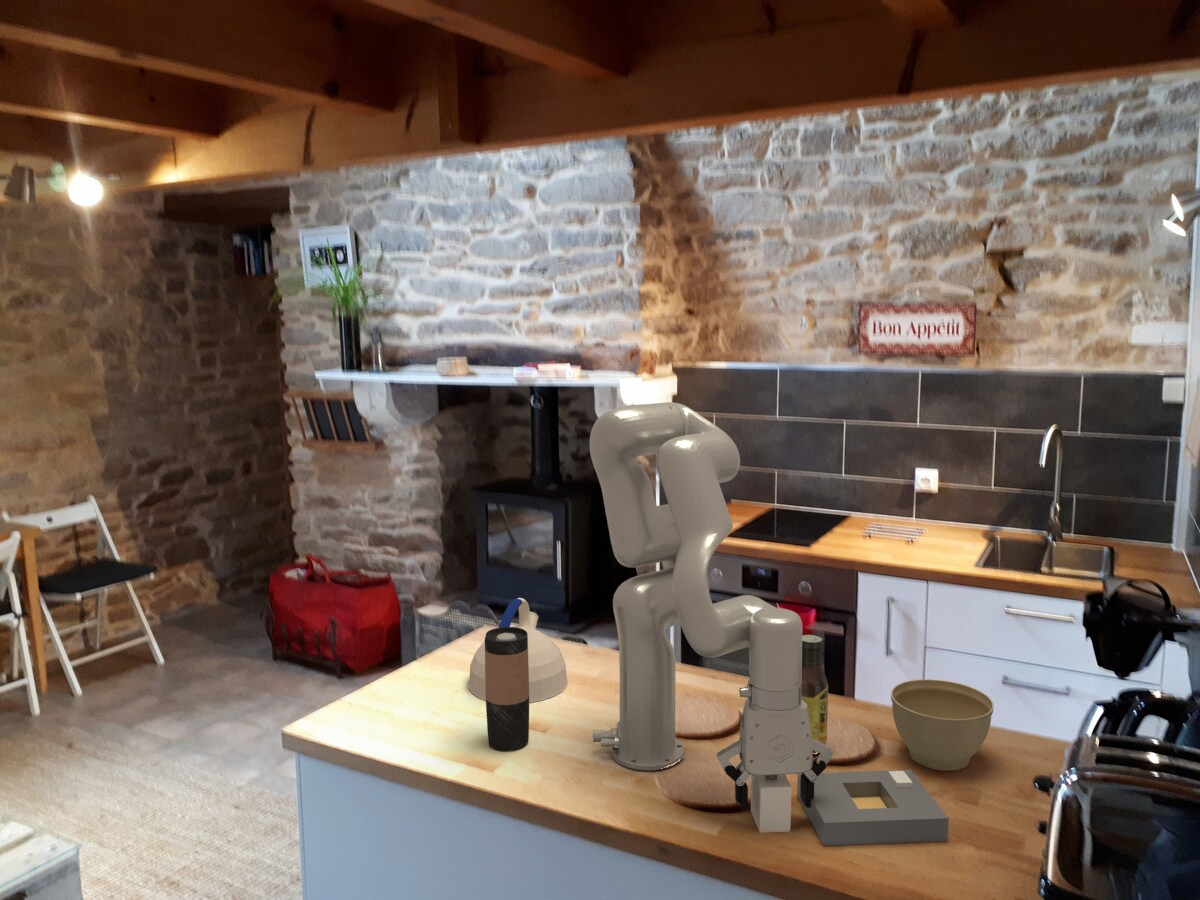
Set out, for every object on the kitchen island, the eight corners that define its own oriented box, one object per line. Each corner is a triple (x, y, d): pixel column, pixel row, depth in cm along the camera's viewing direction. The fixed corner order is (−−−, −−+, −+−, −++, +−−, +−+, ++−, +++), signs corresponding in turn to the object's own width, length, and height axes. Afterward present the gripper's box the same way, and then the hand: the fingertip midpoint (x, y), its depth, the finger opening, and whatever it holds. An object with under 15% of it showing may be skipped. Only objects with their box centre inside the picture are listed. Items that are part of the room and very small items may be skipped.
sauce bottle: (827, 759, 156) (830, 647, 153) (789, 755, 157) (792, 644, 154) (825, 741, 162) (829, 633, 159) (789, 738, 164) (792, 631, 161)
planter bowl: (898, 729, 167) (900, 672, 165) (994, 749, 159) (998, 689, 158) (879, 768, 153) (882, 706, 151) (984, 791, 145) (988, 726, 144)
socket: (823, 845, 131) (824, 817, 130) (797, 794, 145) (797, 768, 144) (947, 840, 132) (948, 812, 131) (909, 790, 146) (910, 765, 145)
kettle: (578, 669, 196) (578, 587, 193) (552, 710, 176) (550, 619, 173) (489, 661, 201) (486, 581, 198) (452, 700, 181) (450, 612, 178)
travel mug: (539, 741, 163) (537, 633, 160) (506, 757, 157) (504, 645, 154) (510, 728, 168) (508, 623, 165) (477, 743, 163) (474, 634, 160)
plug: (759, 832, 134) (761, 777, 133) (750, 810, 140) (751, 757, 139) (790, 831, 135) (791, 776, 133) (779, 809, 140) (781, 756, 139)
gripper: (721, 707, 130) (721, 821, 132) (842, 701, 131) (840, 815, 133) (711, 686, 137) (711, 795, 140) (825, 681, 138) (823, 789, 141)
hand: (774, 804), depth 136 cm, fingers open, 9 cm apart
